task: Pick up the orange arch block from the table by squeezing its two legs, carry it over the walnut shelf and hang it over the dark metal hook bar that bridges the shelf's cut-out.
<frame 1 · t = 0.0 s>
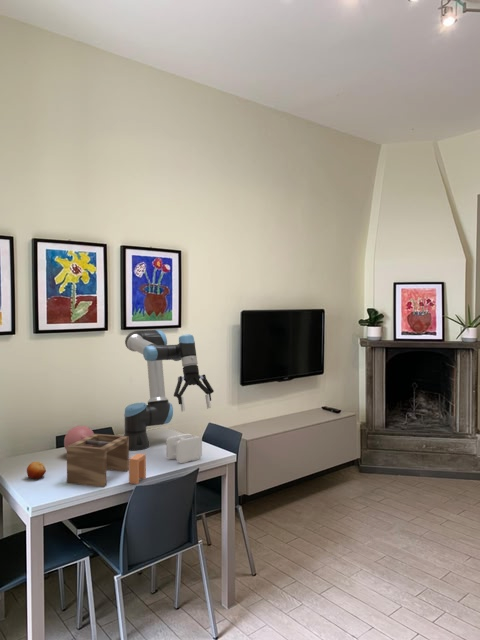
hand: (196, 409, 226), 28 cm above the table, tool tilted 20°, fingers open, 13 cm apart
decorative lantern: (81, 457, 243), on the table
fruit: (36, 478, 212), on the table
orange arch block: (137, 480, 210), on the table
cable organizer: (184, 460, 239), on the table
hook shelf: (99, 476, 214), on the table
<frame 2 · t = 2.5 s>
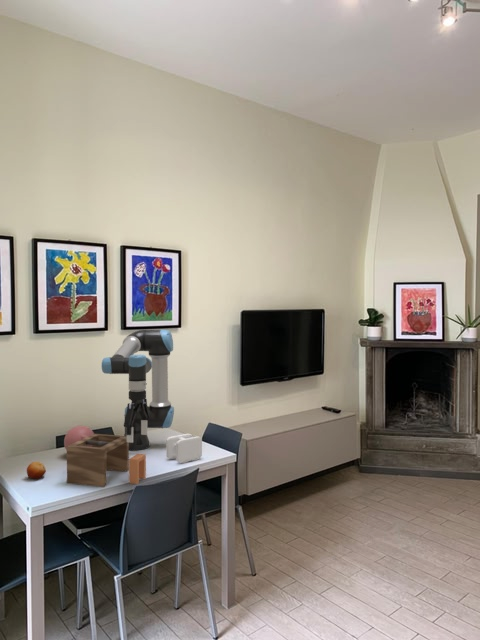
hand: (137, 438, 209), 19 cm above the table, tool pointing down, fingers open, 13 cm apart
nothing on the table moved.
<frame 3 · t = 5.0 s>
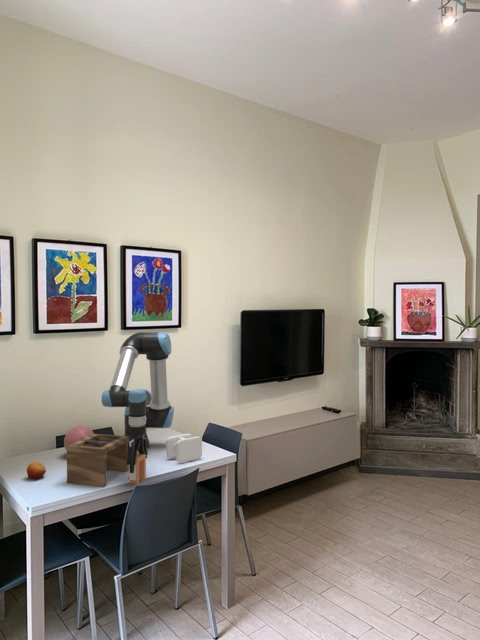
hand: (137, 476, 209), 2 cm above the table, tool pointing down, fingers closed on orange arch block, 8 cm apart
orange arch block: (137, 480, 210), on the table, touching gripper
everything else where it was.
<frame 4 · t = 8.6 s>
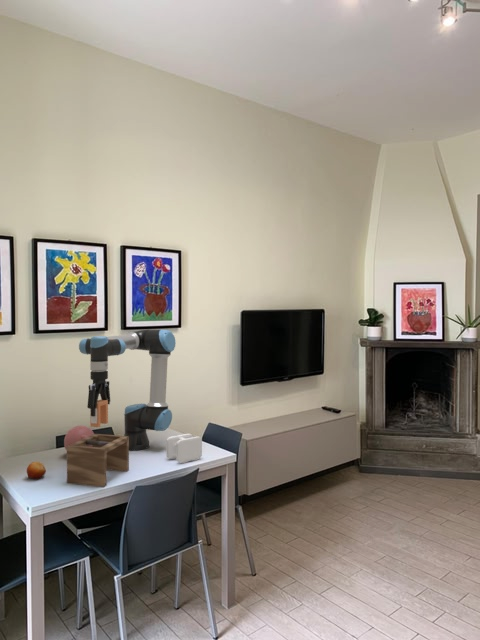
hand: (99, 420, 214), 25 cm above the table, tool pointing down, fingers closed on orange arch block, 8 cm apart
orange arch block: (99, 424, 214), point 23 cm above the table, touching gripper
everything else where it was.
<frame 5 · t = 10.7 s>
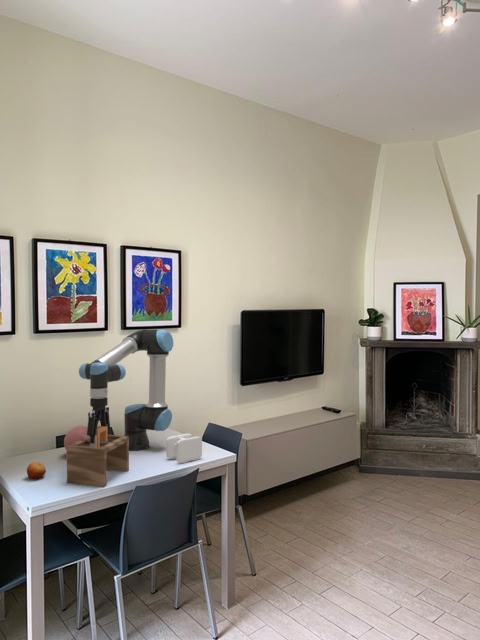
hand: (98, 447, 214), 13 cm above the table, tool pointing down, fingers closed on orange arch block, 8 cm apart
orange arch block: (98, 451, 214), point 11 cm above the table, touching gripper
everything else where it was.
when the fingers open (10 cm above the table, at t = 12.2 s): orange arch block drops 1 cm, resting on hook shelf.
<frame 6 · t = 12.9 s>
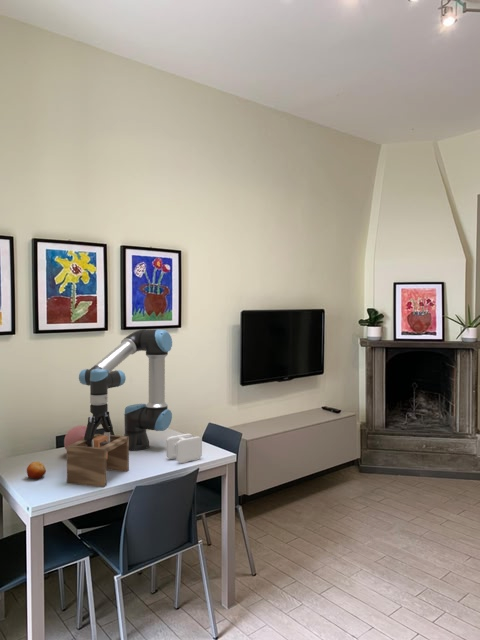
hand: (99, 450, 214), 12 cm above the table, tool pointing down, fingers open, 13 cm apart
orange arch block: (99, 460, 214), point 7 cm above the table, touching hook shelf
everything else where it was.
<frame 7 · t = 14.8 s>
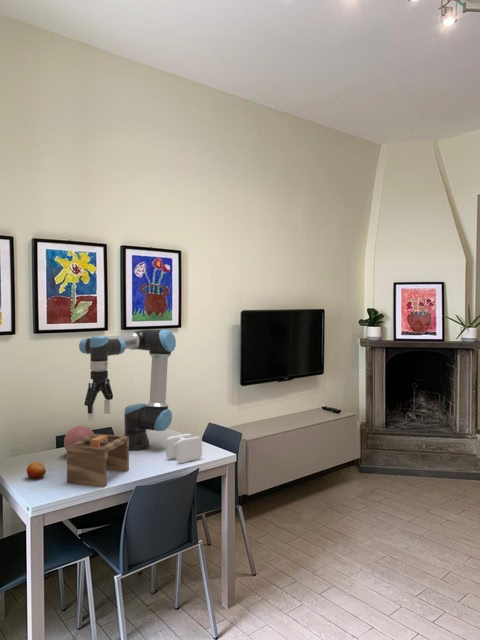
hand: (99, 417, 214), 27 cm above the table, tool pointing down, fingers open, 13 cm apart
nothing on the table moved.
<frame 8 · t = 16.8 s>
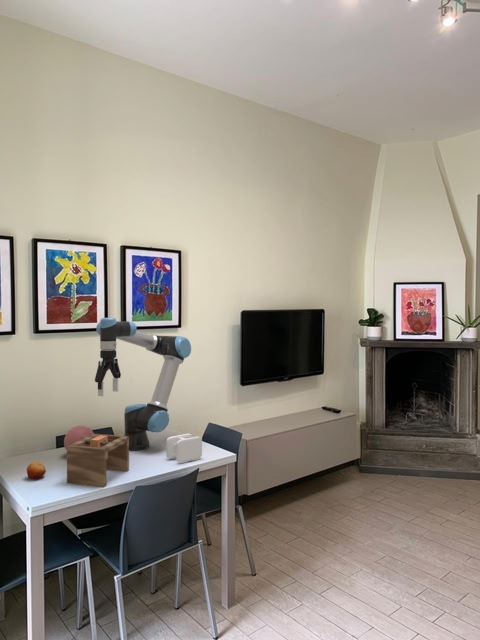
hand: (108, 393, 229), 35 cm above the table, tool pointing down, fingers open, 13 cm apart
nothing on the table moved.
at the end: orange arch block inside the target area on the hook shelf (0.0 cm from its centre), point 7.0 cm above the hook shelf's base; the gripper is holding nothing; orange arch block touching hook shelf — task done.
